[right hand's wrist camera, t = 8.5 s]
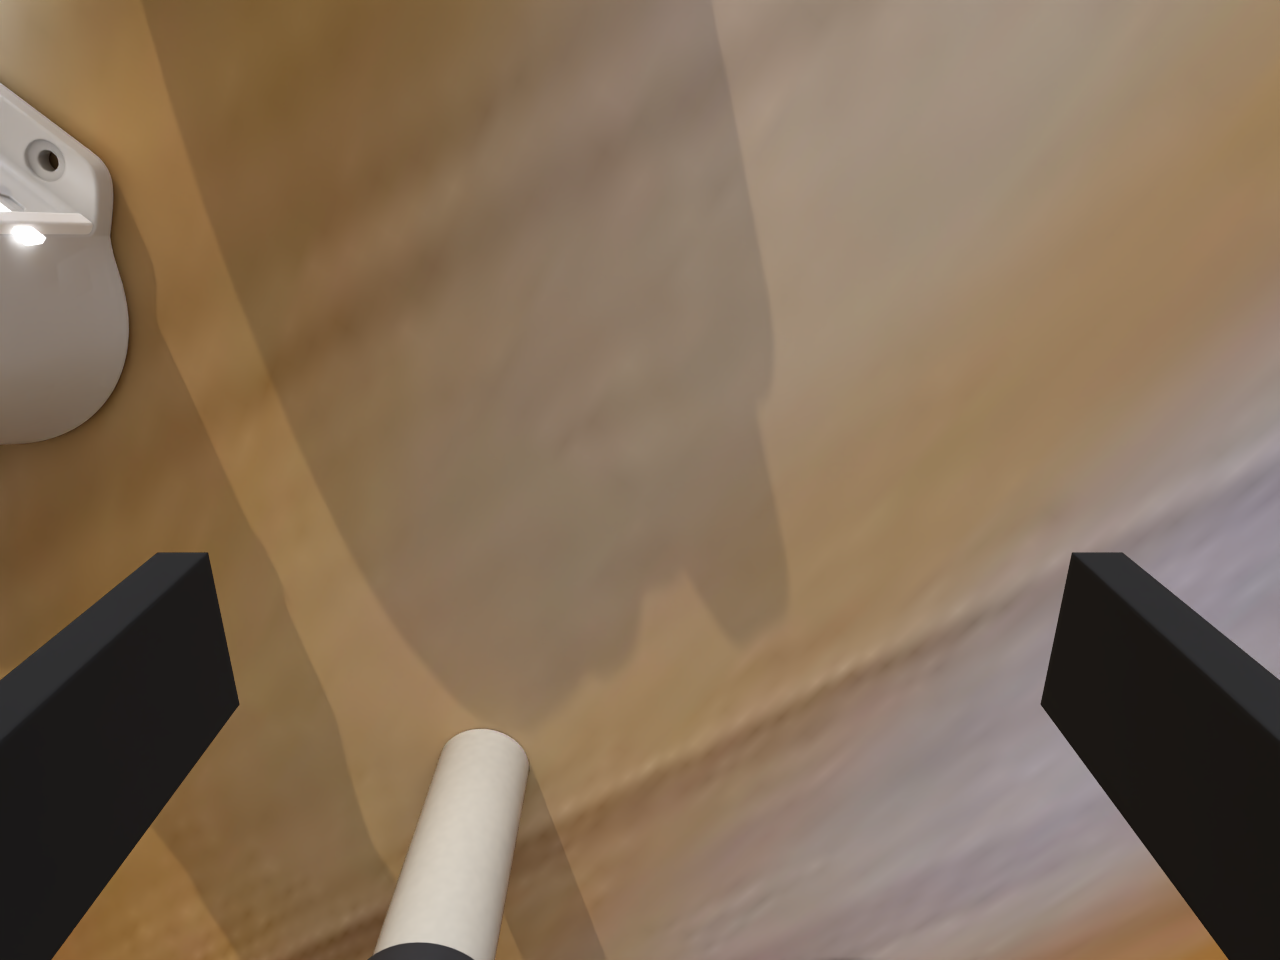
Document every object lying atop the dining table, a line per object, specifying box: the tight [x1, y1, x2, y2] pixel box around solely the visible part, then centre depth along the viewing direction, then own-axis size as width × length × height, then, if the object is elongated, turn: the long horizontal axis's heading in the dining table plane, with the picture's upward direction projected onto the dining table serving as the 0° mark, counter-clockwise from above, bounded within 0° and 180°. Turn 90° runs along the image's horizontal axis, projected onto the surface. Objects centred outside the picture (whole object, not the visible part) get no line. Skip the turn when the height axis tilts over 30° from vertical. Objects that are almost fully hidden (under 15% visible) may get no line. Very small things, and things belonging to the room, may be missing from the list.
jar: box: [372, 729, 529, 960], centre depth 41 cm, size 5×5×16 cm
